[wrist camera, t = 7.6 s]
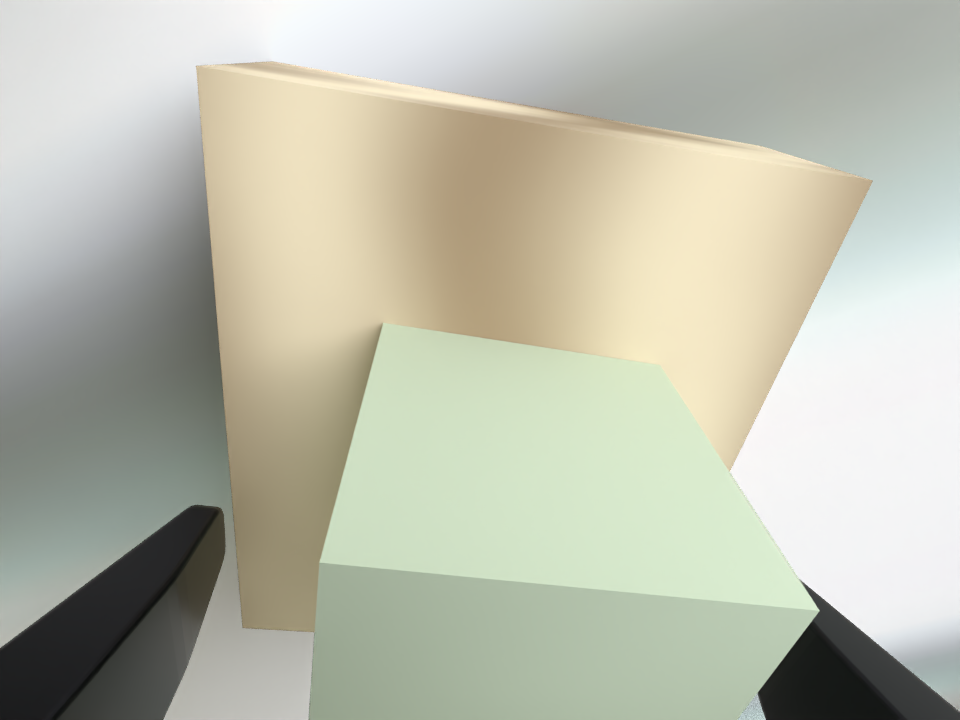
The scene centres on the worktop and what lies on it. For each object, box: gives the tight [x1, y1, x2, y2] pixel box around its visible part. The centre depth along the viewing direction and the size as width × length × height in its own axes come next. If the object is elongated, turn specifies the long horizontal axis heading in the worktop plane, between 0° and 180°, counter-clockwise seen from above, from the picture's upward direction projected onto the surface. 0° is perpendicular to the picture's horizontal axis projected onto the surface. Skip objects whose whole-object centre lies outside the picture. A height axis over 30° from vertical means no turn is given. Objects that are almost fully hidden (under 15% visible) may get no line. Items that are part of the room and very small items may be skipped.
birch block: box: [196, 61, 872, 632], centre depth 13 cm, size 10×12×4 cm
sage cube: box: [309, 323, 819, 720], centre depth 9 cm, size 5×5×5 cm
